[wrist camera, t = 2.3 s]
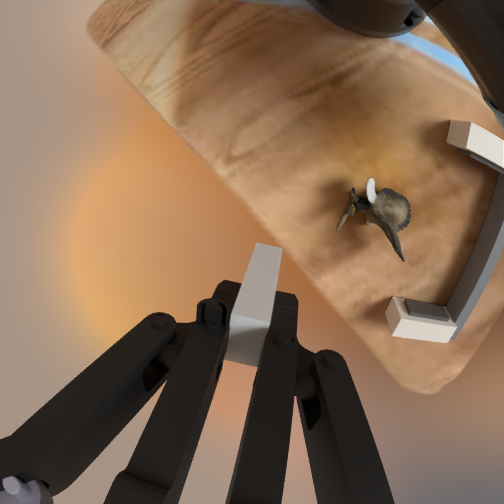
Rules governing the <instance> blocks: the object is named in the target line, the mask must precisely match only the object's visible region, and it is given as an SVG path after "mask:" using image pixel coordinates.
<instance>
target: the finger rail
mask: <svg viewBox="0 0 504 504" xmlns="http://www.w3.org/2000/svg"><path fill="white" fill-rule="evenodd" d="M446 143H449V144H451V145H453V146H455V147H457V148H459V151H458V152H459V153H461V154H463V155H465V156H467V157H469V158H471V159H473V160H475V161H477V162H479V163H481V164H483V165H485V166H487V167H489V168H491V169H493V170H495V171H496V172H499V177H498V181H497V184H496V188H495V191H494V194H493V198H492V201H491V204H490V207H489V210H488V213H487V216H486V219H485V221H484V224H483V227H482V230H481V232H480V235H479V237H478V240H477V242H476V245H475V247H474V250H473V252H472V254H471V257H470V259H469V261H468V263H467V266H466V268H465V270H464V272H463V274H462V276H461V278H460V280H459V282H458V284H457V286H456V288H455V290H454V292H453V294H452V296H451V298H450V300H449V302H448V304H447V306H446V307H444V306H439V305H434V304H429V303H424V302H419V301H414V300H409V299H403V298H398V297H392V299H391V301H390V303H389V305H388V308H387V310H386V312H385V315H386V318H387V322H388V325H389V328H390V331H391V335H392V336H396V337H403V338H410V339H418V340H425V341H433V342H441V343H448V341H449V340H450V339H452V340H455V338H456V337H457V335H458V333H459V332H460V330H461V329H462V327H463V325H464V324H465V322H466V321H467V319H468V317H469V316H470V314H471V312H472V310H473V309H474V307H475V305H476V303H477V301H478V300H479V298H480V296H481V294H482V292H483V290H484V288H485V286H486V284H487V282H488V280H489V278H490V276H491V274H492V272H493V270H494V268H495V266H496V264H497V261H498V259H499V257H500V255H501V252H502V250H503V248H504V141H503V140H502V139H500V138H498V137H497V136H495V135H493V134H492V133H490V132H488V131H487V130H485V129H483V128H481V127H479V126H478V125H476V124H474V123H472V122H466V121H457V120H451V122H450V127H449V132H448V136H447V141H446Z"/></svg>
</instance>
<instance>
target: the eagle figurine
mask: <svg viewBox="0 0 504 504" xmlns="http://www.w3.org/2000/svg"><path fill="white" fill-rule="evenodd" d="M366 194H367V197H361V196H360V197H358V196H356V195H355V188H354V187H353V188H352V192H351V191H350V192H349V196H350V197H349V200H348V202H347V205H346V207H345V209H344V211H343V213H342V216H341V218H340V221H339V223H338V225H337V228H336V230H337V231H338V230H339V229H340V228H341V227H342V225H343V223H344V222H345V220H346V217H347V216H348V215H351V216H353V212H354V211H355V212H363V213H365V214H366V221H367V222H366V223H365V224H366V225H369V226H371V225H372V224H373V223H375V224H377V225H378V226H379V227H380V228H381V229H382V230H383V231H384V233H385V235H386V237H387V238H388V239H389V241H390V242H391V243H392V246H393V248H394V250H395V252H396V253H397V254H398V255H399V257H400V258H401V260H402V261H404V262H405V260H404V257H403V255H402V252H401V245H400V241H399V238H398V235H397V233H396V231H397V232H399V231H400V230H403V228H404V227H407V226H408V225H407V224H409V223H410V218H411V215H410V212H411V209H410V204H409V202H408V200H407V199H406V198H405V197H403V196H402V195H400V194H398V193H397V192H395V191H394V190H392V189H389V188H384V189H382V191H380V193H377V194H376V192H375V181H374V179H373V178H371V177H370V178H369V179H368V181H367V183H366ZM357 202H358V203H357ZM390 222H391V223H392V224H393V226H394V227H393V226H392V224H391V223H390ZM394 228H395V229H394ZM395 230H396V231H395Z"/></svg>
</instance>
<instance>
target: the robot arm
mask: <svg viewBox="0 0 504 504" xmlns="http://www.w3.org/2000/svg"><path fill="white" fill-rule="evenodd" d="M309 1H310V2H311V3H312V5H313V6H314V7H315V8H316V9H317V10H318V11H319V12H320V13H321V14H322V15H324V16H325V17H326V18H328V19H329V20H331V21H332V22H334V23H335V24H337V25H339V26H341V27H343V28H345V29H347V30H350V31H352V32H355V33H358V34H362V35H366V36H372V37H394V36H399V35H402V34H405V33H407V32H409V31H411V30H412V29H414V28H415V27H416V26H418V25H419V24H420V23H421V22H422V21H423V20H424V19H425V17H426V16H428V17H429V18H430V19H431V20H432V21H433V22H434V24H435V25H436V26H437V27H438V29H439V30H440V31H441V32H442V33H443V35H444V36H445V37H446V39H447V40H448V41H449V43H450V44H451V45H452V47H453V48H454V49H455V51H456V52H457V53H458V55H459V56H460V58H461V59H462V61H463V62H464V64H465V65H466V67H467V69H468V70H469V72H470V73H471V75H472V77H473V78H474V80H475V82H476V83H477V85H478V87H479V88H480V90H481V93H482V96H483V99H484V101H485V102H486V104H487V105H488V106H489V107H490V109H491V110H493V112H494V114H495V116H496V118H497V120H498V121H499V123H500V125H501V127H502V129H503V131H504V0H309ZM282 250H283V248H280V247H275V246H270V245H266V244H260V243H257V244H256V246H255V249H254V252H253V255H252V257H251V260H250V263H249V266H248V269H247V271H246V274H245V277H244V280H243V283H242V284H241V283H237V282H232V281H228V280H224V281H222V282H221V283H219V284H218V286H217V288H216V289H215V292H214V293H213V296H212V298H209V299H204V300H202V301H200V302H199V303H198V304H197V315H196V321H194V322H191V323H176V321H175V319H174V317H172V316H171V315H169V314H166V313H162V312H157V313H152V314H150V315H148V316H147V317H146V318H144V319H143V320H142V321H141V322H140V323H139V324H137V325H136V326H135V327H134V328H133V329H131V330H130V331H129V332H128V333H127V334H126V335H124V336H123V337H122V338H121V339H120V340H119V341H117V342H116V343H115V344H114V345H113V346H112V347H110V348H109V349H108V350H107V351H106V352H105V353H104V354H102V355H101V356H100V357H99V358H98V359H96V360H95V361H94V362H93V363H92V364H91V365H89V366H88V367H87V368H86V369H85V370H84V371H83V372H81V373H80V374H79V375H78V376H77V377H76V378H74V380H72V381H71V382H70V383H69V384H68V385H66V386H65V387H64V388H63V389H62V390H61V391H60V392H59V393H57V394H56V395H55V396H54V397H53V398H52V399H51V400H49V401H48V403H46V404H45V405H44V406H43V407H42V408H41V409H39V410H38V411H37V412H36V413H35V414H34V415H33V416H32V417H30V418H29V419H28V420H27V421H26V422H25V423H24V424H23V425H22V426H20V427H19V428H18V429H17V430H16V431H15V432H14V433H13V434H12V435H11V436H8V437H5V438H3V439H0V504H53V499H52V497H53V496H55V495H57V494H59V493H60V492H62V491H63V490H65V489H66V488H68V487H69V486H70V485H71V484H72V483H73V482H74V481H75V480H76V479H77V478H78V477H79V476H80V475H81V474H82V473H83V472H84V471H85V469H87V467H88V466H89V465H90V464H91V463H92V462H93V461H94V460H95V459H96V458H97V457H98V456H99V454H100V453H101V452H102V451H103V450H104V449H105V448H106V447H107V446H108V445H109V444H110V443H111V441H112V440H113V439H114V438H115V437H116V436H117V435H118V434H119V433H120V432H121V431H122V429H123V428H124V427H125V426H126V425H127V424H128V423H129V422H130V421H131V420H132V418H133V417H134V416H135V415H136V414H137V413H138V412H139V410H141V408H142V407H143V406H144V405H145V404H146V403H147V402H148V401H149V399H150V398H151V397H152V396H153V395H154V394H155V393H156V392H157V391H158V389H159V388H160V387H161V386H162V385H163V384H164V383H165V381H166V380H167V379H168V380H167V382H166V384H165V386H164V388H163V390H162V392H161V394H160V397H159V399H158V401H157V403H156V405H155V407H154V409H153V411H152V414H151V416H150V418H149V420H148V422H147V424H146V427H145V429H144V431H143V433H142V435H141V437H140V439H139V442H138V444H137V446H136V448H135V450H134V453H133V455H132V457H131V459H130V461H129V464H128V466H127V467H126V469H125V470H123V471H121V472H120V473H119V474H118V475H117V476H116V478H115V479H114V481H113V483H112V486H111V488H110V490H109V492H108V494H107V496H106V499H105V501H104V503H103V504H178V503H179V499H180V496H181V493H182V490H183V487H184V484H185V481H186V478H187V475H188V472H189V469H190V466H191V463H192V460H193V457H194V454H195V451H196V448H197V445H198V441H199V438H200V435H201V432H202V429H203V426H204V423H205V420H206V417H207V414H208V411H209V408H210V405H211V402H212V399H213V395H214V392H215V389H216V386H217V383H218V380H219V377H220V374H221V371H222V366H223V360H224V357H225V360H229V361H233V362H237V363H241V364H246V365H251V366H255V367H258V369H257V372H256V376H255V379H254V383H253V390H252V394H251V398H250V403H249V407H248V412H247V416H246V421H245V425H244V429H243V434H242V438H241V442H240V446H239V450H238V455H237V459H236V463H235V467H234V471H233V475H232V480H231V483H230V487H229V491H228V495H227V499H226V503H225V504H281V501H282V495H283V488H284V481H285V474H286V467H287V459H288V451H289V443H290V433H291V425H292V416H293V406H294V396H296V397H297V404H298V409H299V413H300V418H301V423H302V428H303V433H304V438H305V443H306V448H307V453H308V458H309V463H310V467H311V472H312V478H313V483H314V488H315V493H316V498H317V503H318V504H394V500H393V497H392V493H391V490H390V487H389V484H388V480H387V477H386V474H385V471H384V468H383V465H382V462H381V459H380V456H379V453H378V450H377V447H376V444H375V441H374V438H373V435H372V432H371V429H370V426H369V424H368V421H367V418H366V415H365V412H364V410H363V407H362V404H361V401H360V398H359V396H358V393H357V391H356V388H355V385H354V382H353V380H352V377H351V374H350V372H349V369H348V367H347V364H346V361H345V360H344V359H343V357H342V356H341V355H340V354H339V353H337V352H335V351H333V350H327V349H326V350H320V351H319V352H317V353H313V352H311V351H309V350H307V349H305V348H304V347H302V346H301V345H300V343H299V342H298V339H297V335H296V334H297V319H298V300H297V298H296V296H295V295H294V294H290V293H285V292H281V291H276V287H277V281H278V274H279V269H280V262H281V256H282Z"/></svg>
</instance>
